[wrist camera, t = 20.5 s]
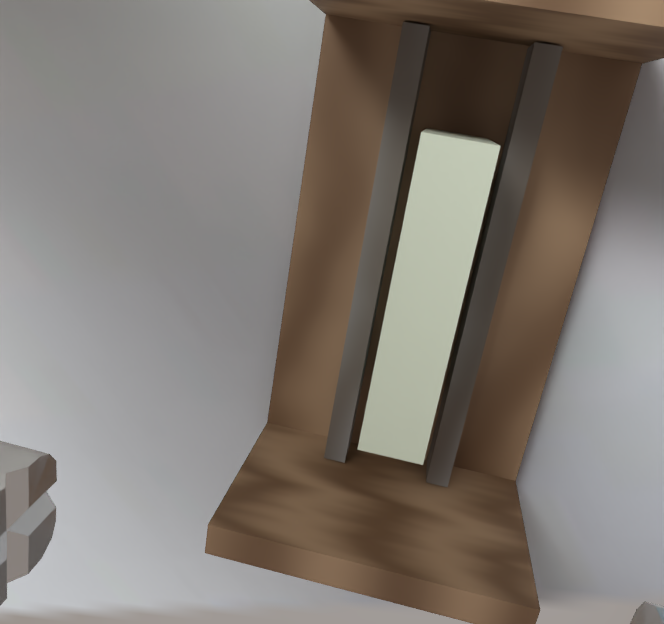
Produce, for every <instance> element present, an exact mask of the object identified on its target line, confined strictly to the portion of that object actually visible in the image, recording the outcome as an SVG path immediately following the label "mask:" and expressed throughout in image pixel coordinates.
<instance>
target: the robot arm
mask: <svg viewBox="0 0 664 624" xmlns="http://www.w3.org/2000/svg"><path fill="white" fill-rule="evenodd" d="M56 481H57V477H56V460H55V459H54V458H53V457H52V456H51V455H50V454H47V453H43V452H40V451H36V450H32V449H29V448H25V447H21V446H18V445H14V444H10V443H7V442H3V441H0V605H1V604H2V603H3V602H4V601H5V600H6V599H7V583H8V582H11V581H13V580H15V579H18V578H20V577H22V576H24V575H27V574H29V572H30V571H31V570H32V569H33V568H34V566H35V565H36V564H37V563H38V562H39V561H40V559H41V558H42V556H43V554H44V552H45V550H46V548H47V546H48V544H49V542H50V540H51V538H52V534H53V530H54V526H55V522H56V506H55V505H54V503H53V501H52V500H51V498H50V496H49V495H48V493H47V492H46V491H47V490H48V489H49V488H50V487H51V486H52V485H53V484H54V483H55V482H56ZM630 624H664V606H661V605H657V604H653V603H649V602H644V603H643V604H642V605H641V606H640V607H639V608H638V609H637V610H636V612H635V614H634V616H633V619H632V621H631V623H630Z"/></svg>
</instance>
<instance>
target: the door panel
mask: <svg viewBox="0 0 664 624" xmlns="http://www.w3.org/2000/svg"><path fill="white" fill-rule="evenodd" d="M499 151H500V145H498V144H496V143H495V142H493V141H491V140H489V139H487V138H482V137H476V136H470V135H465V134H459V133H453V132H447V131H442V130H436V129H430V128H426V129H425V130H423V131H422V132H421V136H420V141H419V146H418V151H417V156H416V161H415V166H414V171H413V176H412V181H411V186H410V191H409V196H408V200H407V205H406V210H405V215H404V220H403V225H402V230H401V235H400V240H399V245H398V250H397V255H396V260H395V265H394V270H393V275H392V280H391V285H390V290H389V295H388V300H387V305H386V310H385V315H384V320H383V325H382V330H381V335H380V340H379V345H378V350H377V355H376V360H375V365H374V370H373V374H372V379H371V384H370V389H369V394H368V399H367V404H366V409H365V414H364V419H363V424H362V429H361V434H360V439H359V444H358V449H357V450H361V451H366V452H370V453H374V454H378V455H383V456H387V457H391V458H395V459H400V460H404V461H408V462H412V463H416V464H421V465H423V463H424V459H425V454H426V450H427V446H428V442H429V438H430V434H431V430H432V426H433V422H434V418H435V413H436V409H437V405H438V401H439V397H440V393H441V389H442V385H443V381H444V376H445V372H446V368H447V364H448V360H449V356H450V352H451V348H452V344H453V339H454V335H455V331H456V327H457V323H458V319H459V315H460V311H461V307H462V303H463V298H464V294H465V290H466V286H467V282H468V278H469V274H470V270H471V266H472V261H473V257H474V253H475V249H476V245H477V241H478V237H479V233H480V229H481V225H482V220H483V216H484V212H485V208H486V204H487V200H488V196H489V192H490V188H491V183H492V179H493V175H494V171H495V167H496V163H497V159H498V155H499Z"/></svg>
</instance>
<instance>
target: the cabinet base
mask: <svg viewBox="0 0 664 624" xmlns="http://www.w3.org/2000/svg"><path fill="white" fill-rule="evenodd" d="M310 1H311V2H312V3H313V4H314V5H316V6H317V7H318V8H319V9H320V10H321V11H323V12H324V13H325V14H326V17H325V24H324V31H323V38H322V45H321V52H320V59H319V66H318V73H317V80H316V87H315V94H314V101H313V108H312V115H311V122H310V129H309V136H308V143H307V150H306V157H305V164H304V171H303V178H302V185H301V191H300V198H299V205H298V212H297V219H296V226H295V233H294V240H293V247H292V254H291V261H290V268H289V275H288V282H287V289H286V296H285V303H284V310H283V317H282V324H281V331H280V338H279V345H278V352H277V359H276V366H275V373H274V380H273V387H272V394H271V400H270V407H269V414H268V421H267V424H266V426H265V427H264V429H263V431H262V433H261V434H260V436H259V438H258V440H257V441H256V443H255V445H254V446H253V448H252V450H251V452H250V453H249V455H248V457H247V458H246V460H245V462H244V464H243V465H242V467H241V469H240V471H239V472H238V474H237V476H236V477H235V479H234V481H233V483H232V484H231V486H230V488H229V489H228V491H227V493H226V495H225V496H224V498H223V500H222V502H221V503H220V505H219V507H218V508H217V510H216V512H215V514H214V515H213V517H212V519H211V521H210V522H209V524H208V530H207V538H206V547H205V553H207V554H211V555H215V556H218V557H222V558H226V559H230V560H234V561H237V562H241V563H245V564H249V565H253V566H256V567H260V568H264V569H268V570H272V571H275V572H279V573H283V574H287V575H291V576H294V577H298V578H302V579H306V580H310V581H313V582H317V583H321V584H325V585H329V586H332V587H336V588H340V589H344V590H348V591H351V592H355V593H359V594H363V595H367V596H370V597H374V598H378V599H382V600H386V601H389V602H393V603H397V604H401V605H405V606H408V607H412V608H416V609H420V610H424V611H427V612H431V613H435V614H439V615H443V616H446V617H451V618H454V619H458V620H462V621H466V622H469V623H473V624H535V623H536V621H537V618H538V615H539V612H540V607H539V601H538V596H537V591H536V586H535V581H534V575H533V570H532V565H531V560H530V554H529V549H528V544H527V539H526V533H525V528H524V523H523V518H522V513H521V507H520V502H519V497H518V492H517V486H516V478H517V474H518V471H519V468H520V464H521V461H522V458H523V454H524V451H525V448H526V445H527V441H528V438H529V435H530V431H531V428H532V425H533V421H534V418H535V415H536V412H537V408H538V405H539V402H540V398H541V395H542V392H543V389H544V385H545V382H546V379H547V375H548V372H549V369H550V365H551V362H552V359H553V356H554V352H555V349H556V346H557V342H558V339H559V336H560V332H561V329H562V326H563V323H564V319H565V316H566V313H567V309H568V306H569V303H570V300H571V296H572V293H573V290H574V286H575V283H576V280H577V276H578V273H579V270H580V267H581V263H582V260H583V257H584V253H585V250H586V247H587V243H588V240H589V237H590V234H591V230H592V227H593V224H594V220H595V217H596V214H597V211H598V207H599V204H600V201H601V197H602V194H603V191H604V187H605V184H606V181H607V178H608V174H609V171H610V168H611V164H612V161H613V158H614V155H615V151H616V148H617V145H618V141H619V138H620V135H621V131H622V128H623V125H624V122H625V118H626V115H627V112H628V108H629V105H630V102H631V98H632V95H633V92H634V89H635V85H636V82H637V79H638V75H639V72H640V69H641V66H642V63H646V62H650V61H654V60H658V59H661V58H664V0H310ZM426 128H430V129H436V130H442V131H447V132H453V133H459V134H465V135H470V136H476V137H482V138H487V139H489V140H491V141H493V142H495V143H496V144H498V145H500V151H499V155H498V159H497V163H496V167H495V171H494V175H493V179H492V183H491V188H490V192H489V196H488V200H487V204H486V208H485V212H484V216H483V220H482V225H481V229H480V233H479V237H478V241H477V245H476V249H475V253H474V257H473V261H472V266H471V270H470V274H469V278H468V282H467V286H466V290H465V294H464V298H463V303H462V307H461V311H460V315H459V319H458V323H457V327H456V331H455V335H454V339H453V344H452V348H451V352H450V356H449V360H448V364H447V368H446V372H445V376H444V381H443V385H442V389H441V393H440V397H439V401H438V405H437V409H436V413H435V418H434V422H433V426H432V430H431V434H430V438H429V442H428V446H427V450H426V454H425V459H424V463H423V465H421V464H416V463H412V462H408V461H404V460H400V459H395V458H391V457H387V456H383V455H378V454H374V453H370V452H366V451H361V450H357V449H358V444H359V439H360V434H361V429H362V424H363V419H364V414H365V409H366V404H367V399H368V394H369V389H370V384H371V379H372V374H373V370H374V365H375V360H376V355H377V350H378V345H379V340H380V335H381V330H382V325H383V320H384V315H385V310H386V305H387V300H388V295H389V290H390V285H391V280H392V275H393V270H394V265H395V260H396V255H397V250H398V245H399V240H400V235H401V230H402V225H403V220H404V215H405V210H406V205H407V200H408V196H409V191H410V186H411V181H412V176H413V171H414V166H415V161H416V156H417V151H418V146H419V141H420V136H421V132H422V131H423V130H425V129H426Z"/></svg>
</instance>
